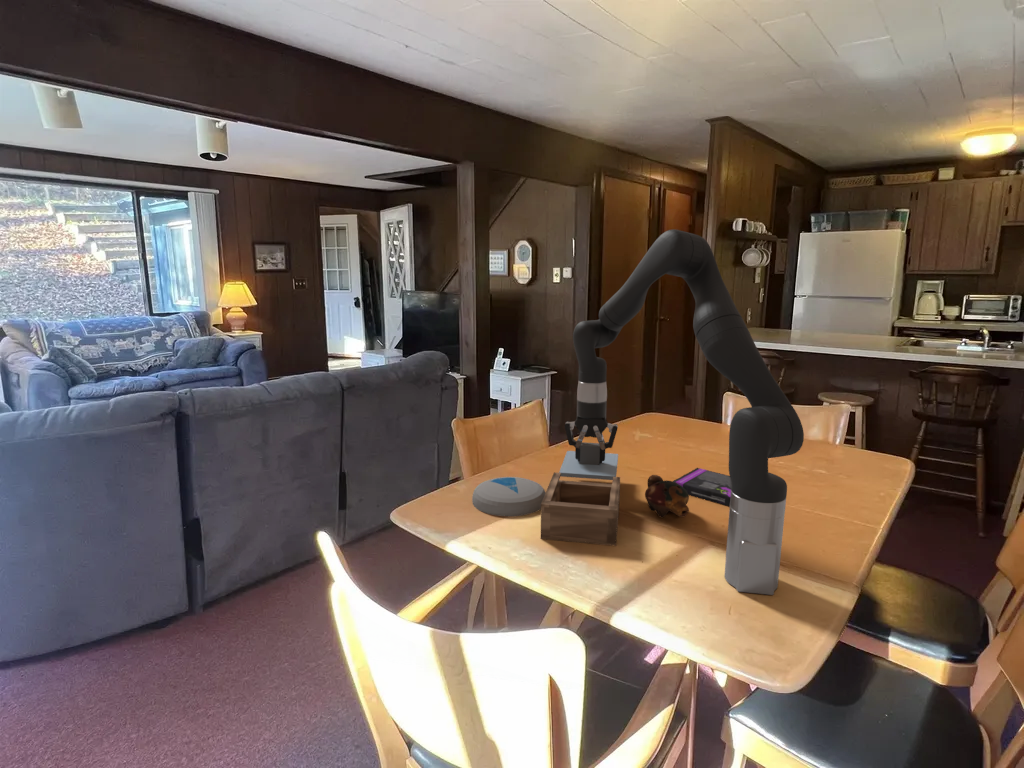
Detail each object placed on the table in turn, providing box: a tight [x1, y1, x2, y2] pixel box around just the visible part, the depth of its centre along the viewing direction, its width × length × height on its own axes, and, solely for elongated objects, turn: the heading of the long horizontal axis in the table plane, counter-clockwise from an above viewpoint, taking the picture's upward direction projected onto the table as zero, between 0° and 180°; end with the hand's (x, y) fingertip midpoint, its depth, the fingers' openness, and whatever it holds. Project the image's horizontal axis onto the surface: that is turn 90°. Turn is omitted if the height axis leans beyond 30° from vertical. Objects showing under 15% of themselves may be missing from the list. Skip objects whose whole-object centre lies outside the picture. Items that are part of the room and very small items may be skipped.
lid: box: [558, 441, 619, 481], centre depth 153 cm, size 18×14×6 cm
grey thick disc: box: [471, 476, 546, 517], centre depth 146 cm, size 18×18×5 cm
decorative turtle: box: [644, 474, 690, 518], centre depth 138 cm, size 10×15×8 cm, turn 21°
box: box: [672, 467, 731, 508], centre depth 151 cm, size 14×4×20 cm
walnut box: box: [540, 472, 621, 547], centre depth 133 cm, size 20×16×8 cm
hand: (590, 461), depth 153 cm, fingers closed on lid, 5 cm apart
